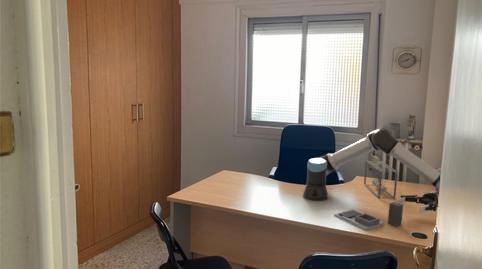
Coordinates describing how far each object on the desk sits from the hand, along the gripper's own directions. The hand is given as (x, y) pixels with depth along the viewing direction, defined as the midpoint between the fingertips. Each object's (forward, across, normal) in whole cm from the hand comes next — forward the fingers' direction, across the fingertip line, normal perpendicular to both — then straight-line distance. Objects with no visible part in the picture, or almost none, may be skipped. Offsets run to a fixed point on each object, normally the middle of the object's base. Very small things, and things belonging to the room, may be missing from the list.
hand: (408, 205), depth 192 cm
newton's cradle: (-28, +40, -8) cm, 50 cm away
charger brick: (+10, 0, -8) cm, 13 cm away
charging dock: (+22, +13, -8) cm, 27 cm away
